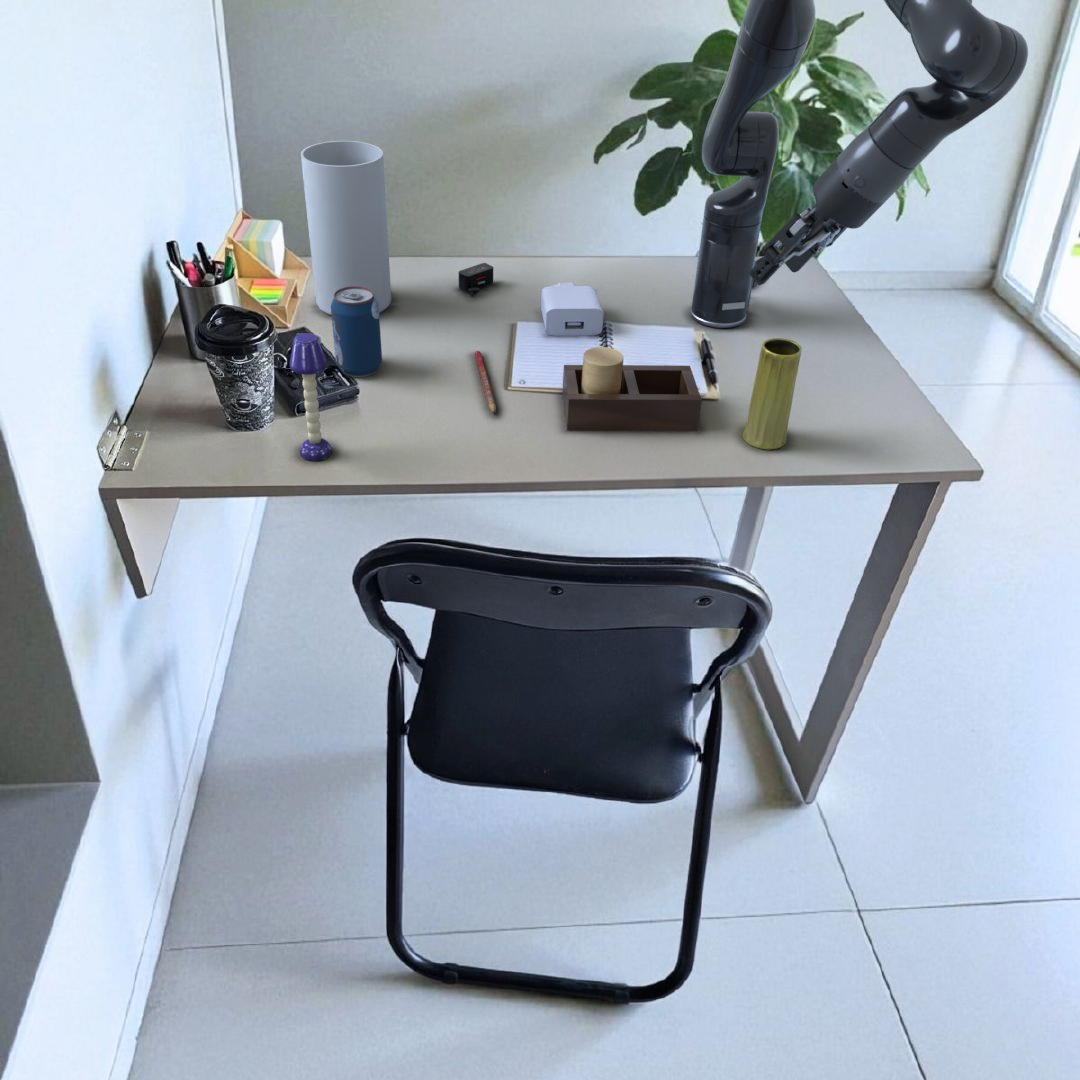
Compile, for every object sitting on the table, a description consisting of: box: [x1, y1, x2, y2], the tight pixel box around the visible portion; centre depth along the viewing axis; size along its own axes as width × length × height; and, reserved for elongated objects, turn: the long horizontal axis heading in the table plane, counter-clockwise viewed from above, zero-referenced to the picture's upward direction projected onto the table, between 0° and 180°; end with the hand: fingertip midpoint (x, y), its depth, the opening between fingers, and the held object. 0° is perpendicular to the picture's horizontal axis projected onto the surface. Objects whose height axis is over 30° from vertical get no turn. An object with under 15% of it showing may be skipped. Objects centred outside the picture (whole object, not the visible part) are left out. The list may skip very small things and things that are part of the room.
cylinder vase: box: [300, 140, 392, 316], centre depth 168 cm, size 12×12×25 cm
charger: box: [540, 282, 604, 337], centre depth 174 cm, size 5×9×15 cm
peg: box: [581, 346, 625, 394], centre depth 148 cm, size 6×6×9 cm
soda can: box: [330, 286, 383, 378], centre depth 155 cm, size 7×7×12 cm
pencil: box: [474, 350, 497, 416], centre depth 155 cm, size 19×1×1 cm, turn 10°
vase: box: [742, 337, 803, 451], centre depth 142 cm, size 6×6×14 cm
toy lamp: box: [289, 333, 333, 462], centre depth 135 cm, size 5×5×17 cm
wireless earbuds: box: [458, 262, 494, 297], centre depth 181 cm, size 5×7×3 cm, turn 134°
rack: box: [561, 364, 703, 432], centre depth 149 cm, size 10×18×5 cm, turn 93°
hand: (772, 273), depth 131 cm, fingers open, 8 cm apart
